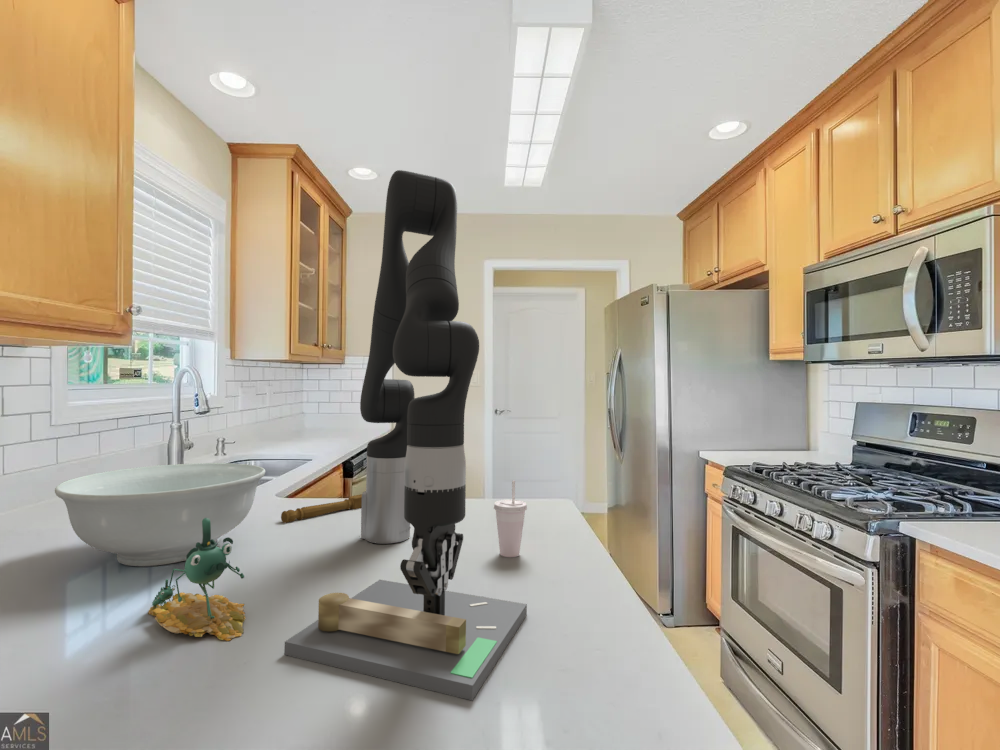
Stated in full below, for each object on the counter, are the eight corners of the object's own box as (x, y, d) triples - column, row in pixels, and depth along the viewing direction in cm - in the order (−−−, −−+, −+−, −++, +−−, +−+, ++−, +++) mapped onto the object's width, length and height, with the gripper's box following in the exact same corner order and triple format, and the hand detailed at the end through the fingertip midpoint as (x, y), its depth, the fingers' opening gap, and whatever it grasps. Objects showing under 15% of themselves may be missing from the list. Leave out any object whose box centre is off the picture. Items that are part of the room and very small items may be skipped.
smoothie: (523, 561, 90) (524, 484, 90) (489, 558, 91) (490, 482, 91) (528, 549, 96) (529, 478, 96) (496, 547, 97) (497, 476, 98)
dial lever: (311, 628, 60) (312, 602, 60) (330, 615, 64) (331, 590, 64) (455, 658, 54) (456, 629, 54) (468, 643, 57) (468, 615, 57)
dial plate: (284, 654, 57) (284, 640, 58) (379, 589, 76) (379, 578, 76) (472, 700, 50) (472, 684, 50) (526, 614, 68) (526, 603, 69)
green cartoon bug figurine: (203, 592, 75) (212, 497, 74) (271, 639, 65) (282, 530, 65) (129, 615, 67) (139, 509, 66) (194, 673, 57) (207, 549, 57)
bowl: (42, 552, 91) (45, 473, 91) (231, 519, 114) (232, 457, 115) (63, 607, 69) (67, 503, 69) (291, 552, 92) (293, 475, 93)
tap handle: (280, 509, 113) (385, 489, 137) (280, 523, 113) (385, 500, 137) (287, 512, 111) (392, 491, 135) (286, 525, 111) (392, 502, 135)
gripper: (432, 470, 68) (431, 596, 67) (379, 489, 55) (377, 643, 55) (482, 474, 65) (481, 604, 65) (439, 494, 53) (437, 656, 52)
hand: (433, 622), depth 60 cm, fingers closed
